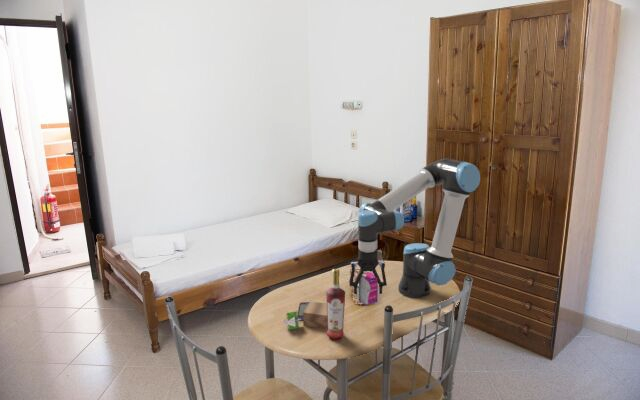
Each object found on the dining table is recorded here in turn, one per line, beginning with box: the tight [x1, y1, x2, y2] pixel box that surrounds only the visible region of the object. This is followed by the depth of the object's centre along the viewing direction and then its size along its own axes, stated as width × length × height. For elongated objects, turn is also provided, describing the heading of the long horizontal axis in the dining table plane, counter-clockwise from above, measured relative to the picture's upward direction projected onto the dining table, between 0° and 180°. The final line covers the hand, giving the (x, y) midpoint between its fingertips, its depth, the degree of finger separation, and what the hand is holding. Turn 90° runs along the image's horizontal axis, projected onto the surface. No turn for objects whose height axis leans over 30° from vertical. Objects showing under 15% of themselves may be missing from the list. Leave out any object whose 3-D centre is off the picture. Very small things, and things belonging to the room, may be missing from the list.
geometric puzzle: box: [283, 311, 303, 331], centre depth 187 cm, size 7×7×8 cm
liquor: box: [325, 268, 346, 340], centre depth 178 cm, size 7×7×28 cm
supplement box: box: [358, 272, 378, 306], centre depth 189 cm, size 6×6×12 cm
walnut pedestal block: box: [302, 300, 328, 329], centre depth 192 cm, size 10×10×6 cm
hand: (368, 300), depth 191 cm, fingers closed on supplement box, 8 cm apart
